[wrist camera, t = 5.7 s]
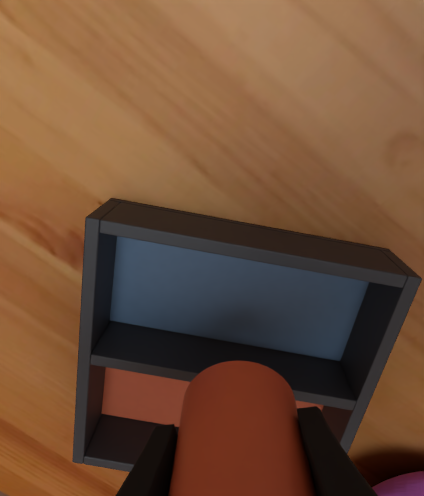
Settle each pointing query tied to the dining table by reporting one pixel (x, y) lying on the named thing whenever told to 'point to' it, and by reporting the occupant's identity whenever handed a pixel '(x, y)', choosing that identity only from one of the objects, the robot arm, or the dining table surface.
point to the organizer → (224, 320)
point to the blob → (402, 485)
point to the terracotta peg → (240, 436)
